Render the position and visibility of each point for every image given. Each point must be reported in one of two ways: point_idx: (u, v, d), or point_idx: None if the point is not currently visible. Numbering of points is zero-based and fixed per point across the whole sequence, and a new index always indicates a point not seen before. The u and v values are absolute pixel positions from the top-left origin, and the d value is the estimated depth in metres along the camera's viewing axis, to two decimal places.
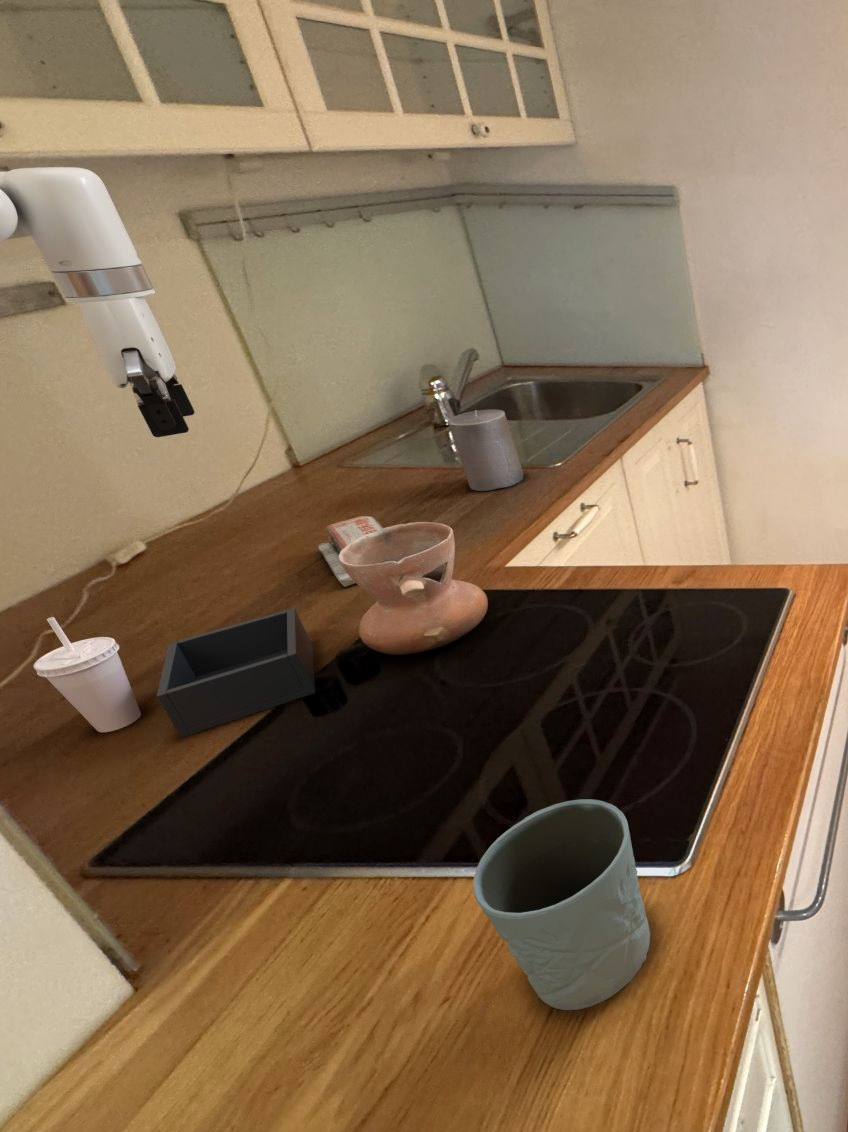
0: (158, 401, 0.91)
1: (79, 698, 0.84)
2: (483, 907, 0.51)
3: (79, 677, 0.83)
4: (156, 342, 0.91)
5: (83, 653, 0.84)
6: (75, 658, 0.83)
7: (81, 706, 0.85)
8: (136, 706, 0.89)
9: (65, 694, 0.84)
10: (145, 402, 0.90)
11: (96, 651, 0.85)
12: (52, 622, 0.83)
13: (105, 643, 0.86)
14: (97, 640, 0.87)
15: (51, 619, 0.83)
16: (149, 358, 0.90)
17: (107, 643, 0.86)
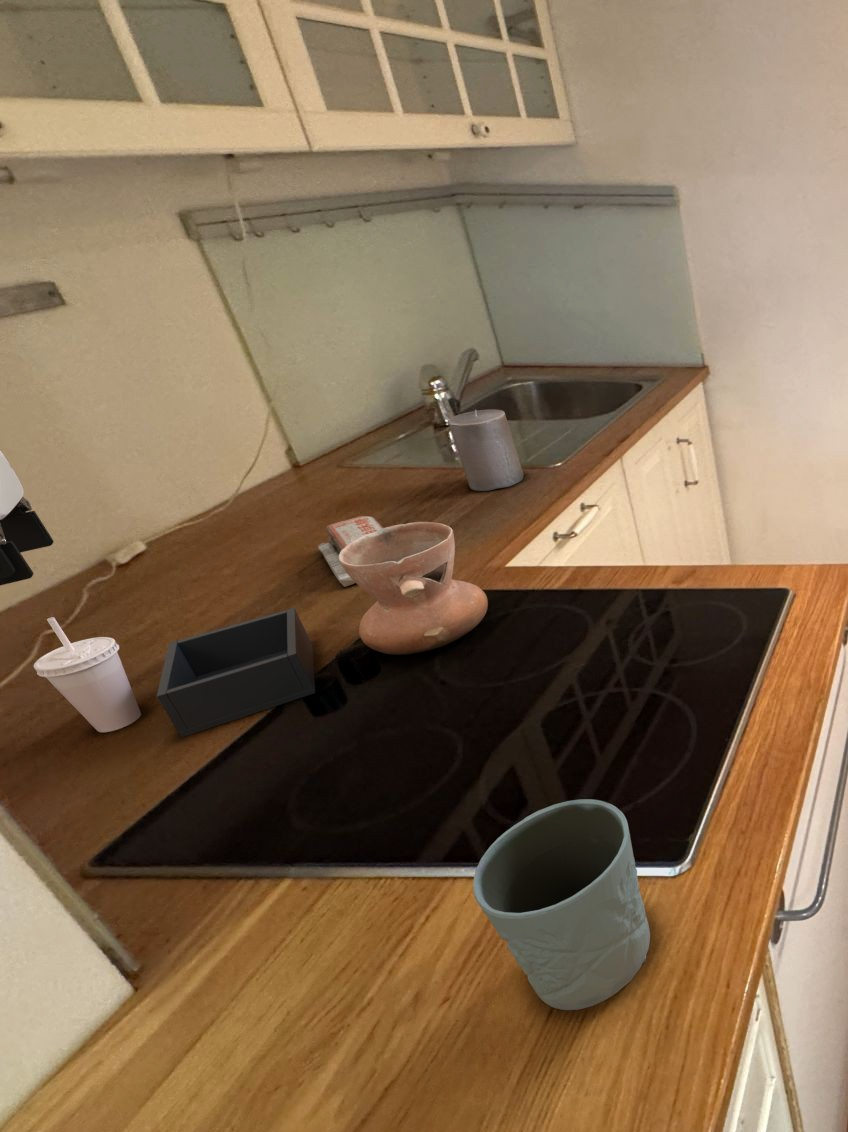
0: None
1: (79, 698, 0.84)
2: (483, 907, 0.51)
3: (79, 677, 0.83)
4: None
5: (83, 653, 0.84)
6: (75, 658, 0.83)
7: (81, 706, 0.85)
8: (136, 706, 0.89)
9: (65, 694, 0.84)
10: None
11: (96, 651, 0.85)
12: (52, 622, 0.83)
13: (105, 643, 0.86)
14: (97, 640, 0.87)
15: (51, 619, 0.83)
16: None
17: (107, 643, 0.86)
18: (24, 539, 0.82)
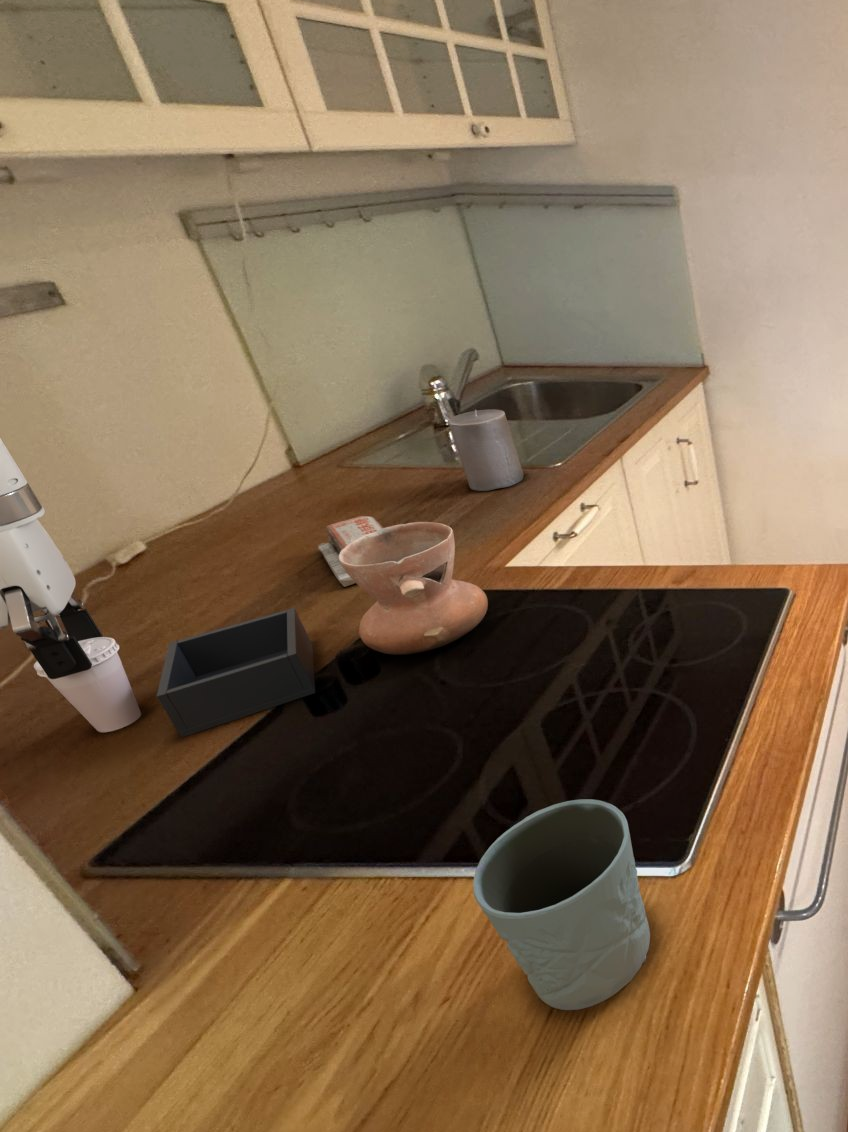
0: (53, 643, 0.80)
1: (79, 698, 0.84)
2: (483, 907, 0.51)
3: (79, 677, 0.83)
4: (44, 573, 0.79)
5: None
6: None
7: (81, 706, 0.85)
8: (136, 706, 0.89)
9: (65, 694, 0.84)
10: (37, 646, 0.79)
11: (96, 651, 0.85)
12: None
13: (105, 643, 0.86)
14: (97, 640, 0.87)
15: None
16: (34, 595, 0.78)
17: (107, 643, 0.86)
18: (76, 636, 0.86)
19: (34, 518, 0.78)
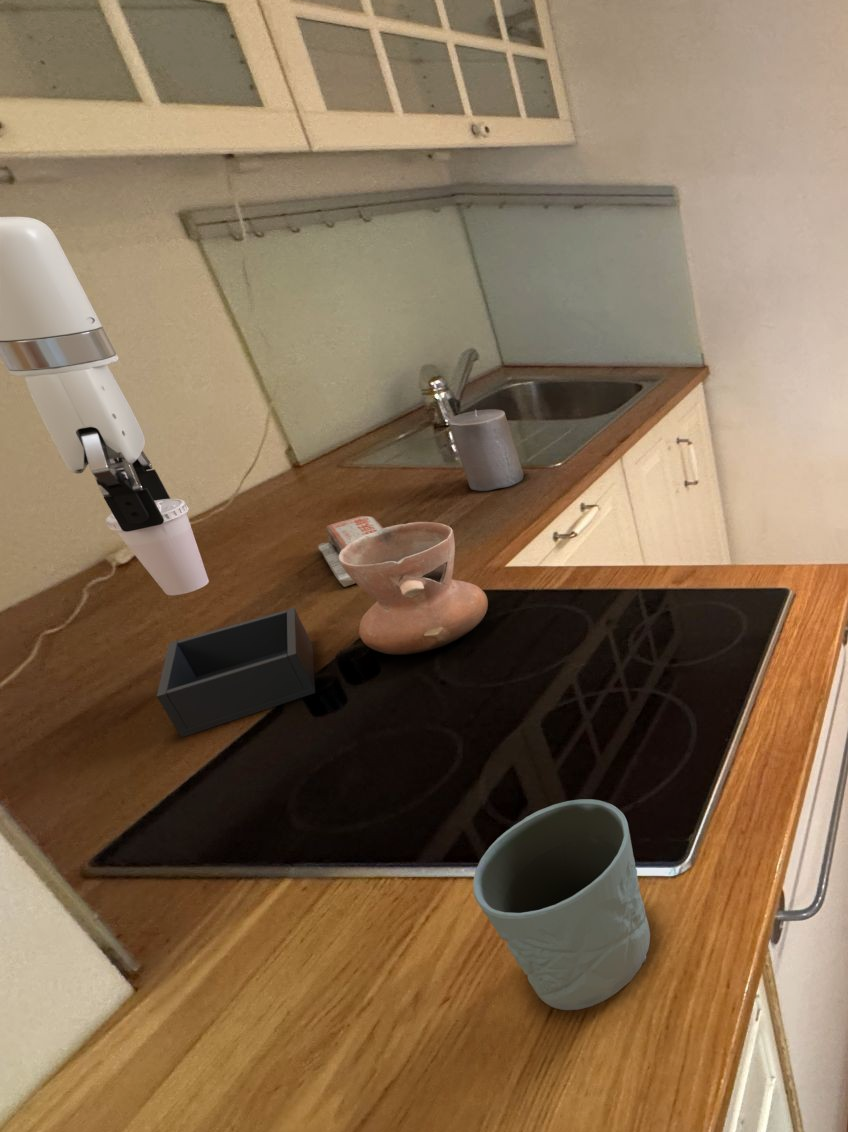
0: (127, 492, 0.78)
1: (150, 556, 0.83)
2: (483, 907, 0.51)
3: (151, 532, 0.82)
4: (119, 418, 0.77)
5: None
6: None
7: (152, 565, 0.83)
8: (204, 572, 0.88)
9: (136, 551, 0.82)
10: (112, 494, 0.78)
11: (167, 509, 0.83)
12: None
13: (175, 503, 0.85)
14: (167, 501, 0.85)
15: None
16: (110, 438, 0.76)
17: (177, 503, 0.85)
18: None
19: (109, 361, 0.77)
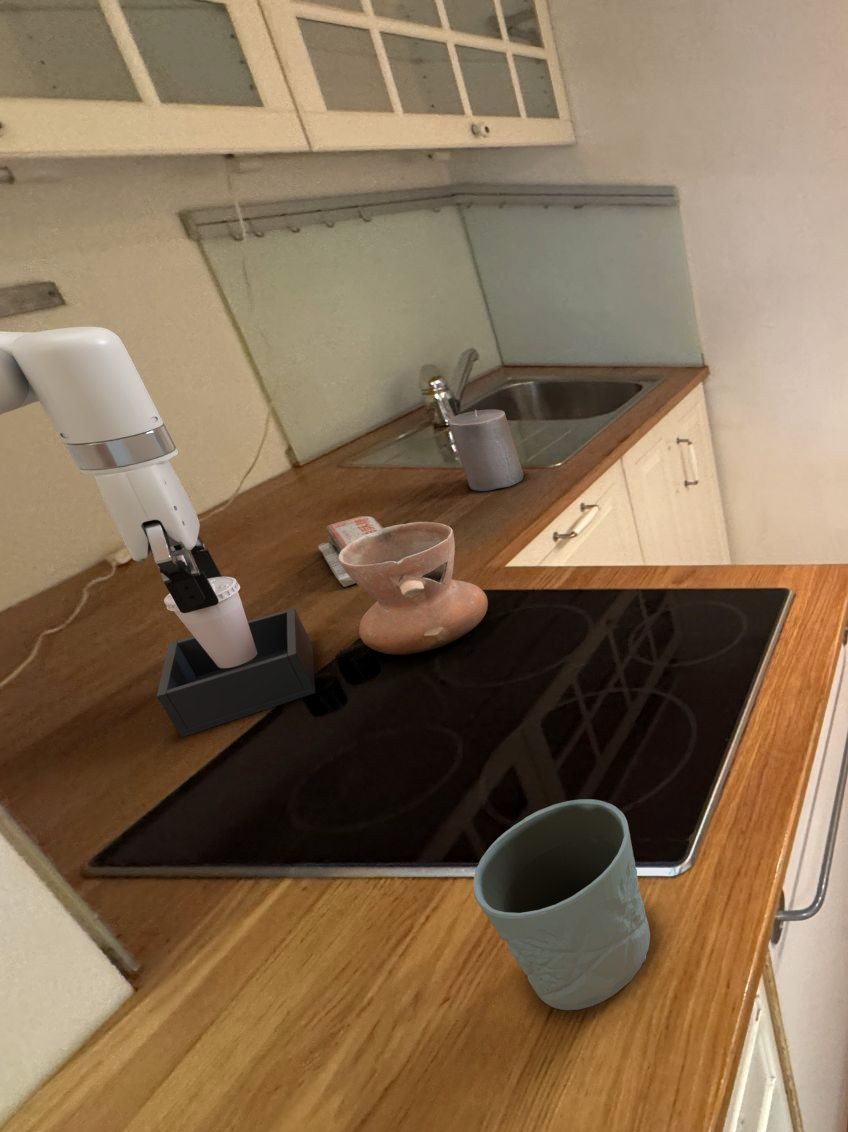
0: (186, 577, 0.83)
1: (205, 634, 0.88)
2: (483, 907, 0.51)
3: (206, 612, 0.87)
4: (179, 509, 0.82)
5: None
6: None
7: (206, 641, 0.88)
8: (253, 644, 0.92)
9: (192, 629, 0.87)
10: (172, 580, 0.82)
11: (221, 589, 0.88)
12: (181, 559, 0.86)
13: (227, 582, 0.90)
14: (219, 579, 0.90)
15: (180, 556, 0.86)
16: (172, 529, 0.81)
17: (229, 582, 0.90)
18: None
19: (171, 456, 0.82)
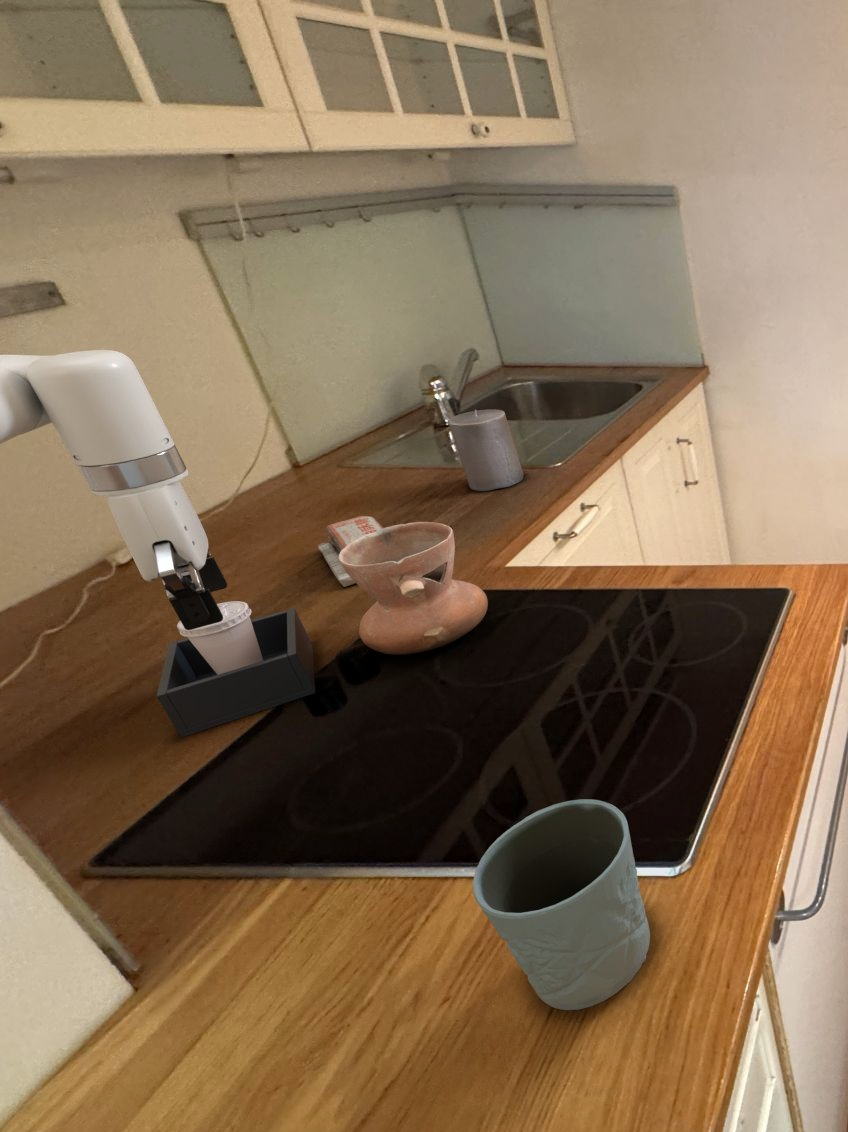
0: (191, 594, 0.83)
1: (217, 658, 0.89)
2: (483, 907, 0.51)
3: (219, 637, 0.88)
4: (189, 529, 0.83)
5: None
6: None
7: (218, 666, 0.90)
8: None
9: (205, 654, 0.89)
10: (177, 597, 0.82)
11: (233, 614, 0.90)
12: None
13: (239, 606, 0.91)
14: (231, 604, 0.92)
15: None
16: (182, 549, 0.82)
17: (241, 606, 0.91)
18: (204, 583, 0.91)
19: (181, 477, 0.83)
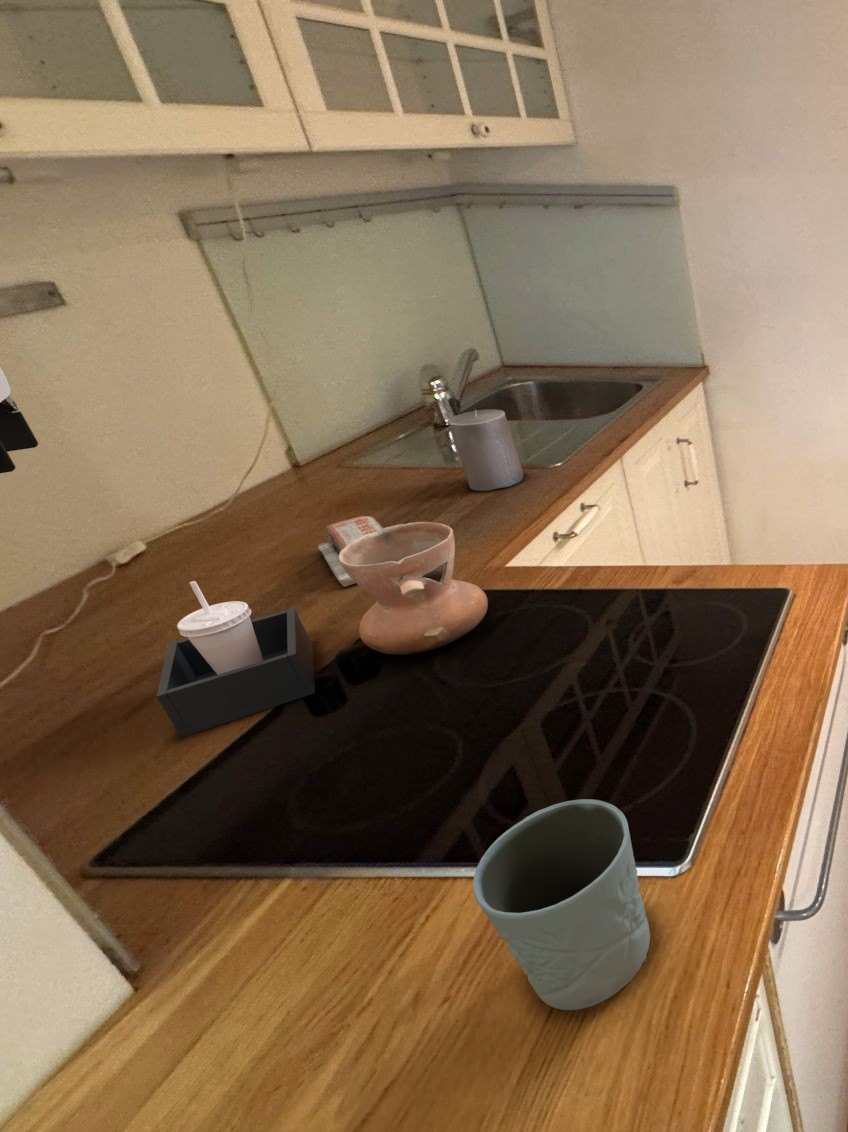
0: None
1: (217, 658, 0.89)
2: (483, 907, 0.51)
3: (219, 637, 0.88)
4: None
5: (221, 615, 0.89)
6: (215, 620, 0.88)
7: (218, 666, 0.90)
8: None
9: (205, 654, 0.89)
10: None
11: (233, 614, 0.90)
12: (194, 585, 0.88)
13: (239, 606, 0.91)
14: (231, 604, 0.92)
15: (193, 583, 0.88)
16: None
17: (241, 606, 0.91)
18: (9, 439, 0.84)
19: None
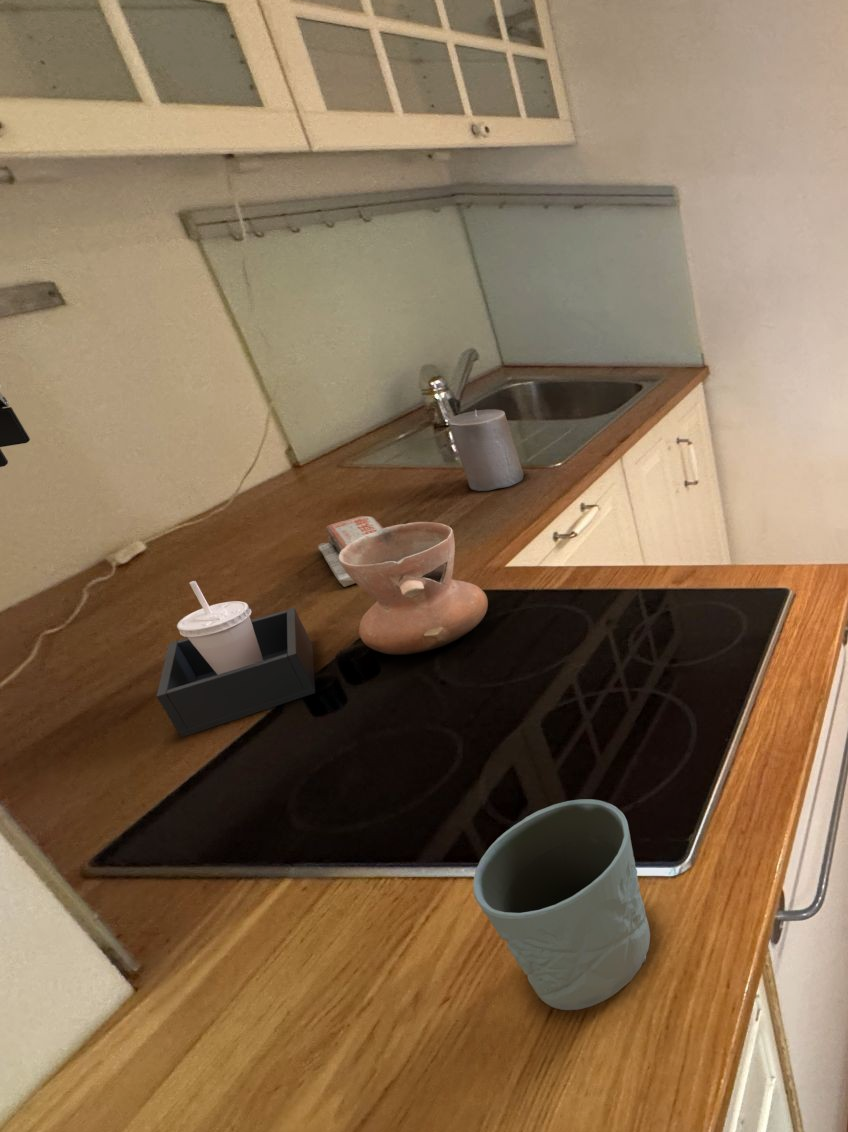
0: None
1: (217, 658, 0.89)
2: (483, 907, 0.51)
3: (219, 637, 0.88)
4: None
5: (221, 615, 0.89)
6: (215, 620, 0.88)
7: (218, 666, 0.90)
8: None
9: (205, 654, 0.89)
10: None
11: (233, 614, 0.90)
12: (194, 585, 0.88)
13: (239, 606, 0.91)
14: (231, 604, 0.92)
15: (193, 583, 0.88)
16: None
17: (241, 606, 0.91)
18: (0, 434, 0.84)
19: None
